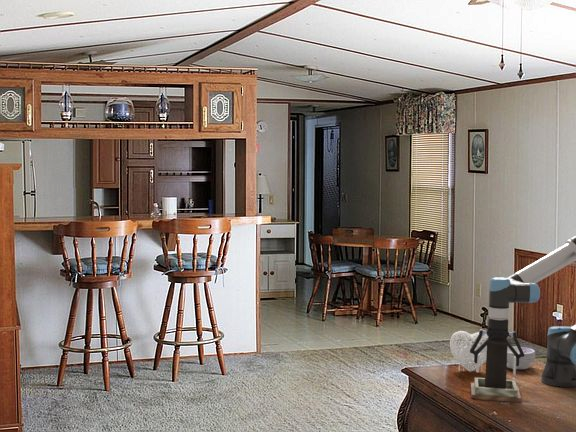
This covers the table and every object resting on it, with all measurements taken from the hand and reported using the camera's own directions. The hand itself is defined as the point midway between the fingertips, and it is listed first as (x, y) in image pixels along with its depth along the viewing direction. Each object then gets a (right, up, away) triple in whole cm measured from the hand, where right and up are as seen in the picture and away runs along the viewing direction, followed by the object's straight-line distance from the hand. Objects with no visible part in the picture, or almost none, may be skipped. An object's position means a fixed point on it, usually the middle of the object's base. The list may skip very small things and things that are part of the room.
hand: (496, 373), depth 329 cm
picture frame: (0, -8, +1) cm, 8 cm away
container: (0, -7, 0) cm, 7 cm away
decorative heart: (-2, -6, +36) cm, 36 cm away
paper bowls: (+20, -6, +45) cm, 50 cm away
